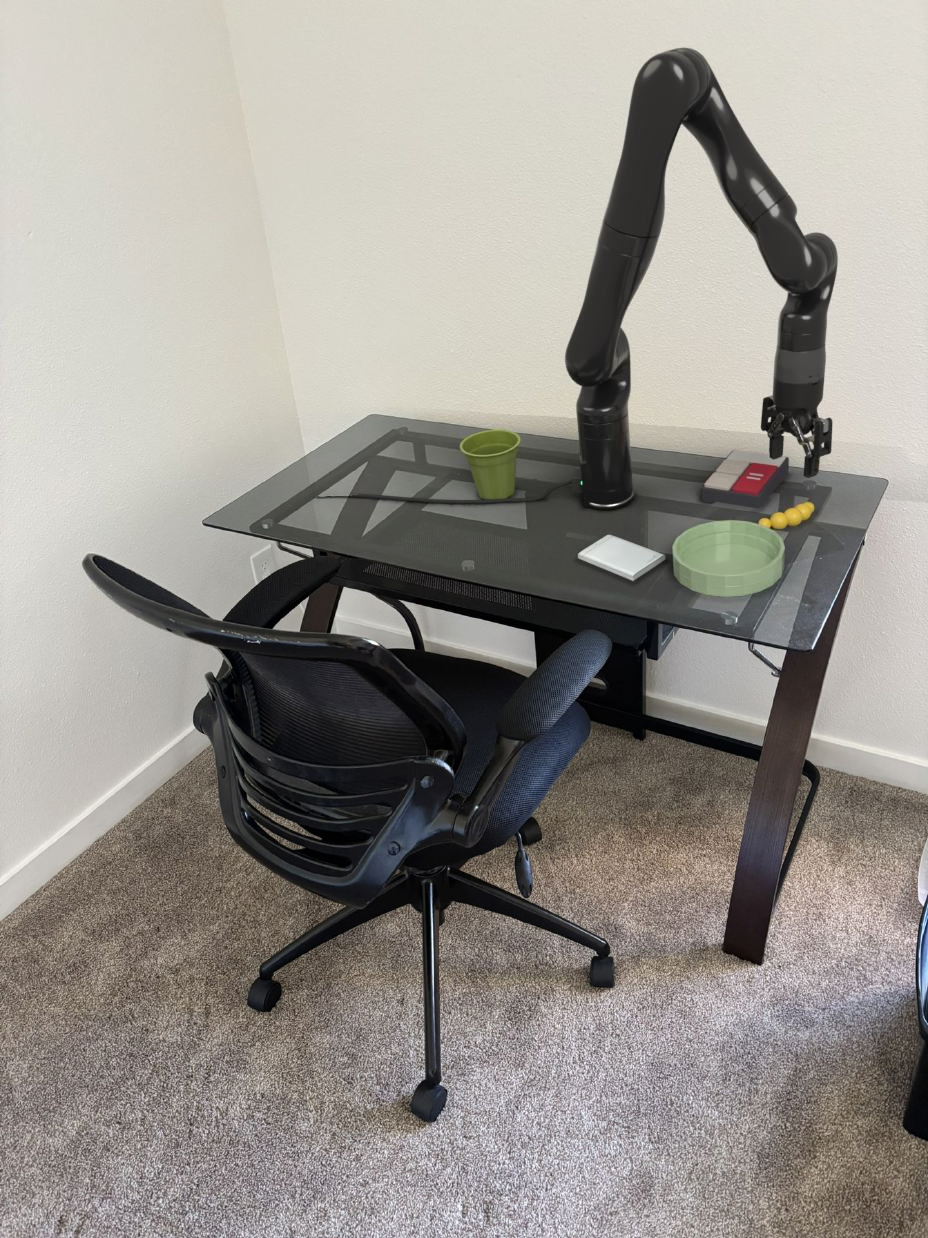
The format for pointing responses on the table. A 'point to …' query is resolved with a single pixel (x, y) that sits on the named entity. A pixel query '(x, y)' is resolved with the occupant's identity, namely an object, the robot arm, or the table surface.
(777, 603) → the table surface
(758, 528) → the bowl
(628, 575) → the hard drive
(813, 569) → the table surface
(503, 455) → the plant pot
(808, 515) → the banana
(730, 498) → the calculator
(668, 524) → the table surface
